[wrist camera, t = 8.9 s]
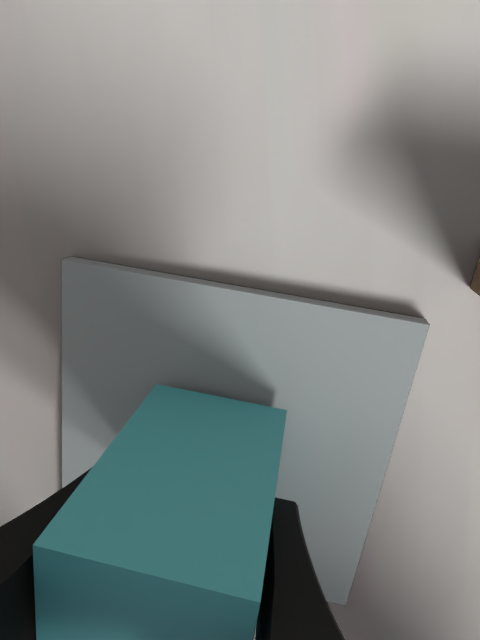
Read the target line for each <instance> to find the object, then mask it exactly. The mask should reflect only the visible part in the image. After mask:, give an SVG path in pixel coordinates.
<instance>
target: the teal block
mask: <svg viewBox="0 0 480 640" xmlns="http://www.w3.org/2000/svg"><path fill="white" fill-rule="evenodd" d="M286 414H287V410H284V409H279V408H274V407H269V406H264V405H259V404H254V403H249V402H244V401H239V400H234V399H229V398H224V397H219V396H214V395H209V394H204V393H199V392H194V391H189V390H184V389H179V388H174V387H169V386H164V385H159V384H156V385H155V386H154V388H153V389H152V390H151V392H150V393H149V394H148V396H147V397H146V398H145V399H144V401H143V402H142V403H141V405H140V406H139V407H138V409H137V410H136V411H135V413H134V414H133V415H132V416H131V418H130V419H129V420H128V422H127V423H126V424H125V426H124V427H123V428H122V429H121V431H120V432H119V433H118V435H117V436H116V437H115V439H114V440H113V441H112V442H111V444H110V445H109V446H108V448H107V449H106V450H105V452H104V453H103V454H102V455H101V457H100V458H99V459H98V461H97V462H96V463H95V465H94V466H93V467H92V468H91V470H90V471H89V472H88V474H87V475H86V476H85V478H84V479H83V480H82V482H81V483H80V484H79V485H78V487H77V488H76V489H75V491H74V492H73V493H72V495H71V496H70V497H69V498H68V500H67V501H66V502H65V504H64V505H63V506H62V508H61V509H60V510H59V511H58V513H57V514H56V515H55V517H54V518H53V519H52V521H51V522H50V523H49V524H48V526H47V527H46V528H45V530H44V531H43V532H42V534H41V535H40V536H39V537H38V539H37V540H36V541H35V543H34V544H33V565H34V591H35V616H36V640H253V638H254V633H255V628H256V623H257V617H258V612H259V607H260V602H261V595H262V588H263V580H264V573H265V566H266V559H267V551H268V544H269V537H270V530H271V522H272V515H273V508H274V501H275V493H276V486H277V479H278V472H279V464H280V457H281V450H282V443H283V435H284V428H285V421H286Z"/></svg>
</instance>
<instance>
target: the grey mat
mask: <svg viewBox="0 0 480 640" xmlns="http://www.w3.org/2000/svg"><path fill="white" fill-rule="evenodd" d="M61 279H62V488H63V487H65V486H66V485H68V484H69V483H71V482H72V481H73V480H75V479H76V478H78V477H79V476H80V475H82V474H83V473H85V472H86V471H87V470H89V469H90V468H92V467H93V466H94V465H95V463H96V462H97V461H98V459H99V458H100V457H101V455H102V454H103V453H104V452H105V450H106V449H107V448H108V446H109V445H110V444H111V442H112V441H113V440H114V439H115V437H116V436H117V435H118V433H119V432H120V431H121V429H122V428H123V427H124V426H125V424H126V423H127V422H128V420H129V419H130V418H131V416H132V415H133V414H134V413H135V411H136V410H137V409H138V407H139V406H140V405H141V403H142V402H143V401H144V399H145V398H146V397H147V396H148V394H149V393H150V392H151V390H152V389H153V388H154V386H155V385H156V384H159V385H164V386H169V387H174V388H179V389H184V390H189V391H194V392H199V393H204V394H209V395H214V396H219V397H224V398H229V399H234V400H239V401H244V402H249V403H254V404H259V405H264V406H269V407H274V408H279V409H284V410H287V414H286V421H285V428H284V435H283V443H282V450H281V457H280V464H279V472H278V479H277V486H276V493H275V497H277V498H281V499H285V500H290V501H294V502H296V504H297V505H298V510H299V516H300V521H301V526H302V530H303V534H304V538H305V542H306V545H307V549H308V552H309V555H310V558H311V561H312V564H313V567H314V570H315V573H316V576H317V578H318V581H319V584H320V586H321V589H322V591H323V594H324V596H325V599H326V601H327V602H331V603H335V604H339V605H343V606H346V603H347V599H348V596H349V593H350V589H351V586H352V583H353V579H354V576H355V573H356V569H357V566H358V563H359V559H360V556H361V553H362V549H363V546H364V543H365V539H366V536H367V533H368V529H369V526H370V523H371V519H372V516H373V513H374V509H375V506H376V503H377V499H378V496H379V493H380V489H381V486H382V483H383V479H384V476H385V473H386V469H387V466H388V463H389V459H390V456H391V453H392V449H393V446H394V443H395V439H396V436H397V433H398V429H399V426H400V423H401V419H402V416H403V413H404V409H405V406H406V403H407V399H408V396H409V393H410V389H411V386H412V382H413V379H414V376H415V372H416V369H417V366H418V362H419V359H420V356H421V352H422V349H423V346H424V342H425V339H426V336H427V332H428V329H429V326H430V324H429V323H428V322H427V320H426V319H424V318H419V317H413V316H407V315H402V314H396V313H390V312H384V311H379V310H373V309H367V308H362V307H356V306H350V305H345V304H339V303H333V302H327V301H322V300H316V299H310V298H305V297H299V296H293V295H288V294H282V293H276V292H270V291H265V290H259V289H253V288H248V287H242V286H236V285H231V284H225V283H219V282H213V281H208V280H202V279H196V278H191V277H185V276H179V275H174V274H168V273H162V272H156V271H151V270H145V269H139V268H134V267H128V266H122V265H117V264H111V263H105V262H99V261H94V260H88V259H82V258H77V257H68V258H65V259H62V260H61Z"/></svg>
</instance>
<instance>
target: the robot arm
mask: <svg viewBox="0 0 480 640" xmlns="http://www.w3.org/2000/svg"><path fill="white" fill-rule="evenodd" d="M90 470H91V468H90V469H89V470H87V471H86V472H85V473H83V474H82V475H80V476H79V477H78V478H76V479H75V480H73V481H72V482H71V483H69V484H68V485H66V486H65V487H63V488H62V489H60V490H59V491H58V492H56V493H55V494H53V495H52V496H50V497H49V498H47V499H46V500H44V501H43V502H41V503H39V504H38V505H36V506H35V507H33V508H31V509H30V510H28V511H26V512H25V513H23V514H22V515H20V516H18V517H17V518H15V519H13V520H11V521H10V522H8V523H6V524H4V525H3V526H1V527H0V640H36V616H35V591H34V565H33V544H34V543H35V541H36V540H37V539H38V537H39V536H40V535H41V534H42V532H43V531H44V530H45V528H46V527H47V526H48V524H49V523H50V522H51V521H52V519H53V518H54V517H55V515H56V514H57V513H58V511H59V510H60V509H61V508H62V506H63V505H64V504H65V502H66V501H67V500H68V498H69V497H70V496H71V495H72V493H73V492H74V491H75V489H76V488H77V487H78V485H79V484H80V483H81V482H82V480H83V479H84V478H85V476H86V475H87V474H88V472H89V471H90ZM256 640H345V639H344V637H343V635H342V633H341V631H340V629H339V627H338V625H337V623H336V621H335V619H334V617H333V615H332V612H331V610H330V608H329V606H328V603H327V601H326V599H325V596H324V594H323V591H322V589H321V586H320V584H319V581H318V578H317V576H316V573H315V570H314V567H313V564H312V561H311V558H310V555H309V552H308V549H307V545H306V542H305V538H304V534H303V530H302V526H301V521H300V516H299V510H298V505H297V504H296V502H294V501H290V500H285V499H281V498H277V497H275V501H274V508H273V515H272V522H271V530H270V537H269V544H268V551H267V559H266V566H265V573H264V580H263V588H262V595H261V602H260V607H259V612H258V617H257V624H256Z"/></svg>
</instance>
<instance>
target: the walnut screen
mask: <svg viewBox="0 0 480 640" xmlns="http://www.w3.org/2000/svg"><path fill="white" fill-rule="evenodd" d="M470 289H472V290H473V291H474V292H475V293H477V294H478V295H479V296H480V257H479V260H478V263H477V267H476V270H475V273H474V276H473V279H472V282H471V285H470Z"/></svg>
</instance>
